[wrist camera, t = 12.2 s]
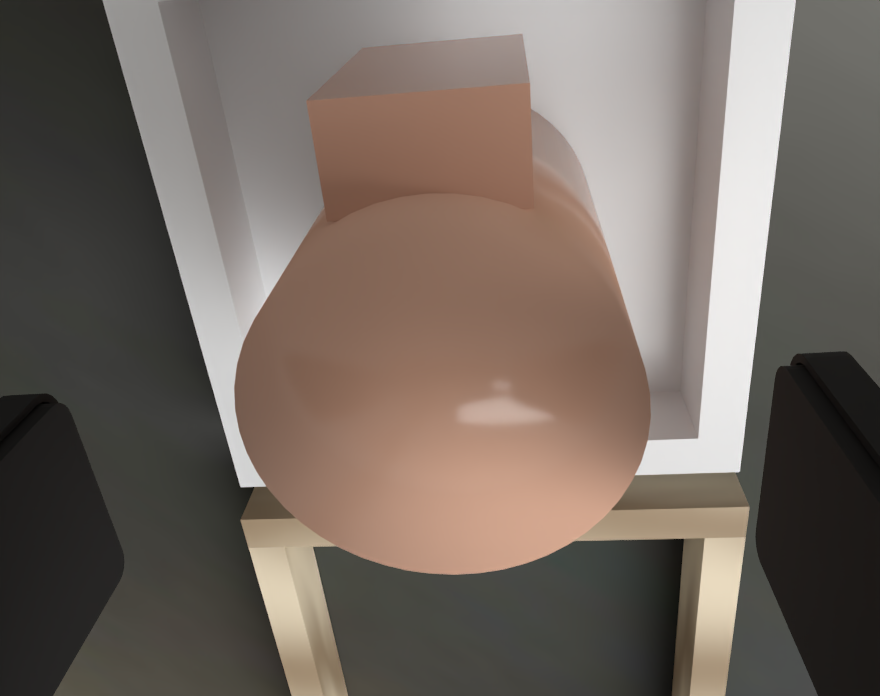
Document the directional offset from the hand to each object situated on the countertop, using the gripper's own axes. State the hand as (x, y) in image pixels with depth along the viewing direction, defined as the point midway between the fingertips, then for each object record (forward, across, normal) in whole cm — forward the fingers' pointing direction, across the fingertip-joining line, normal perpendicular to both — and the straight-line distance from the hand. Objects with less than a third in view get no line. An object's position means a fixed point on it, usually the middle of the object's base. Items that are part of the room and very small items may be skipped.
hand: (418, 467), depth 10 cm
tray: (+9, 0, -1) cm, 9 cm away
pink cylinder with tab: (+8, 0, -1) cm, 8 cm away
